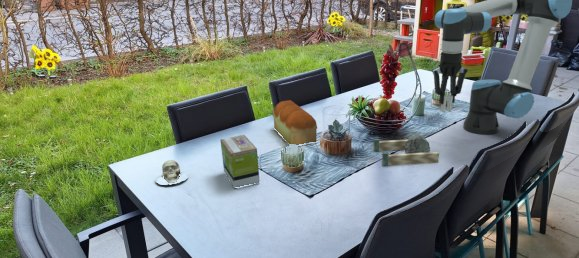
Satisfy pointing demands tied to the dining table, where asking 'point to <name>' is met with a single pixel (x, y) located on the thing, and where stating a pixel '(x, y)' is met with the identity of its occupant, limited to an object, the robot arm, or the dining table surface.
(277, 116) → the bread
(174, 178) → the skull
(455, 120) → the dining table surface
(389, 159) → the chevron patterned bars
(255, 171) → the tea box
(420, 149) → the stone
